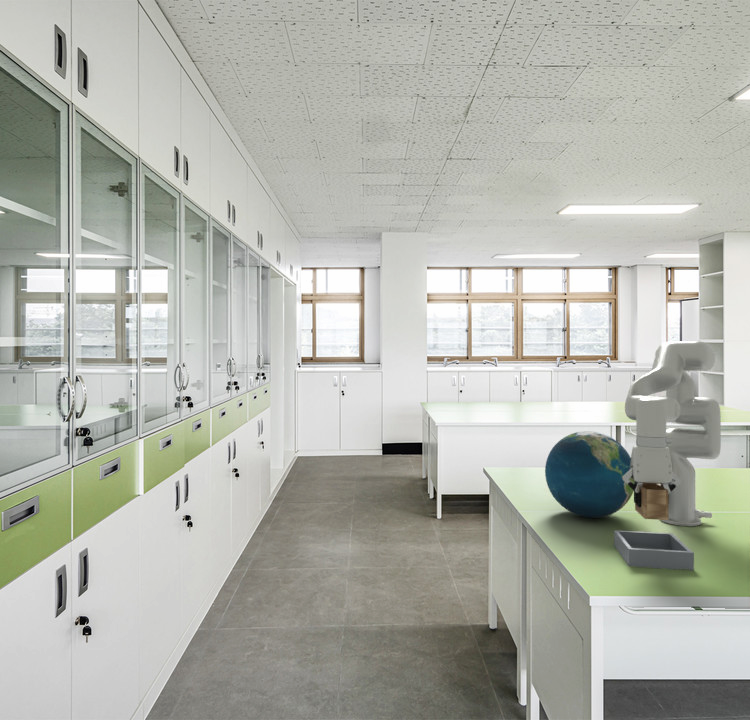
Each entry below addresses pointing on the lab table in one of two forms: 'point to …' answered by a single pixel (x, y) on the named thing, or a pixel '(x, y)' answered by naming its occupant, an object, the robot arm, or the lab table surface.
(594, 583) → the lab table surface
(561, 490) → the globe
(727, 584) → the lab table surface
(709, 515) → the robot arm
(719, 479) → the lab table surface
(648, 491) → the small crate
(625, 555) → the shallow gray tray
